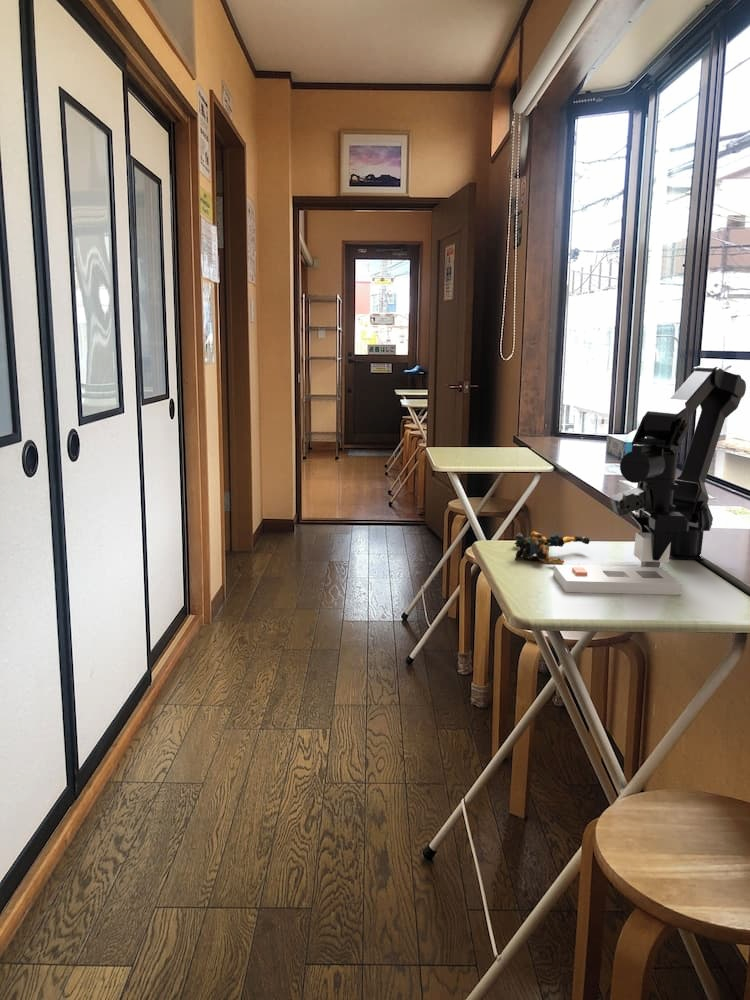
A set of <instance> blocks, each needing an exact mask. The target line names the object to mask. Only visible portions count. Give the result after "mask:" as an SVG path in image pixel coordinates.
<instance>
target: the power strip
mask: <svg viewBox="0 0 750 1000" xmlns="http://www.w3.org/2000/svg"><path fill="white" fill-rule="evenodd" d="M552 572H553V577H554V578H555V579H556V581H557V583H559V585H560V587H562V589H563V590H564V592H565V593H588V594H589V593H591V594H592V593H593V594H595V593H596V594H628V595H630V594H631V595H633V594H635V595H662V596H663V595H664V596H665V595H669V596H674V595H675V596H681V595H682V582H680V581H679V580H678V579H677V578H675V576H673V575H672V574H671V573H669V572H668V571H667V570H666V569H665V568H663V567H661V566H660V567H641V566H624V565H623V566H621V565H619V566H617V565H587V564H586V565H585V564H583V565H579V564H574V565H573V564H554V565H553V571H552Z"/></svg>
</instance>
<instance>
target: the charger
mask: <svg viewBox="0 0 750 1000" xmlns="http://www.w3.org/2000/svg"><path fill="white" fill-rule="evenodd" d="M670 546H671V542H670V544H669V545H668V547H667V548H666V550H665V551H664V553H663V555H662V556H661V558H660V559H659V560H658V561H656V560H653V559H652V543H651V533H641V532H637V531H636V532H635V540H634V549H633V555H634V557H636V558H637V559H638V560H639V561H640V562H641V563H640V567H661V563H669V562H670V556H669V555H670Z"/></svg>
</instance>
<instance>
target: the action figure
mask: <svg viewBox="0 0 750 1000" xmlns="http://www.w3.org/2000/svg"><path fill="white" fill-rule="evenodd" d="M515 539H516V541H515V542H514V545H515V547H517V548H518V550H517V551H516V553H515V557H514V559H515V560H514V561H520V559H521V558H524V559H532V558H533V557H534V555H536V558H537V559H538V560H539V561H540V562H542V563H545V564H554V565H564V563H565V560H564V559H561V558H560V557H558V558H554V557H553V558H552V557H550V552H549V551H550V547H559V548H562V547H563V546H564V545H565V544H567V543H571V542H574V543H576V542H580V543H582V544H584V545H589V544H590V541H591V540H590V537H587V536H581V535H580V536H576V535H575V536H564V537H562V536H559V534H556V533H555V534H554V535H551V536H550V538H546V537H545V535H543V534H542V533H539V532H537V531H534V530H533V531H531V532H530V536H529V537H525V536H523V534H522V533H521V532H518V533H517V534H516V535H515ZM519 558H520V559H519Z"/></svg>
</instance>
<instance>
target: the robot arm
mask: <svg viewBox="0 0 750 1000" xmlns="http://www.w3.org/2000/svg"><path fill="white" fill-rule="evenodd" d="M746 391H747V382H746V381H745V380H744V379H743V378H742V376H741V375H740V374H736V373H731V372H728V371H726V370H723V369H722V368H721V367H720V368H719V367H718V366H707V365H698V366H694V367H693V368H692V370H691V373H690V375H689V376H688V377H687V379H686V380H685V381H684V382H683V383H682V385H681V386H680V387H678V389H677V390H676V391H675V392H674V394H673V395H672V396H671V397H670V398H669V399H668V400H666V401H664V402H661V403H657V404H655V405H654V406H652V407H650V409H648V410H647V411H646V412H645V414H644V415H643V416H642V419H641V421H640V423H639V425H638V427H637V429H636V432H635V435H634V437H633V439H632V441H631V451H628V452H627V453H626V454H625V455H623V457H622V459H621V461H620V462H619V470H620V474H621V475H622V477H623V478H624V479H625V480H626V481H628V482H630V483H633V484H637V487H635V488H631V489H626V490H623V491H621V492H618V493H614V494H611V495H610V496H609V500H610V503H611V506H612V510H613V512H614V513H616V514H617V516H620V517H621V516H626V515H628V513H632V512H634V514H633V513H632V514H630V517H631V518H632V519H633V520H634V521H635V522H636V524H638V526H639V530H640V532H639V533H651V543H652V559H653V560H656V561H658V560H659V559H660V558H661V556H662V555H663V553H664V551H665V550H666V548H667V547H668V545H669V544H670V542H671V546H670V555H669V558H671V559H673V560H674V559H676V560H702V559H701V557H700V556H699V555H700V554H701V555H702V548H703V539H704V532H709V531H711V528H712V526H713V520H714V517H713V514H712V512H711V509H710V508H709V504H708V503H709V500H710V499H709V498H710V497H709V494H708V491H707V487H706V484H705V483H706V481H707V477H708V474H709V471H710V468H711V464H712V460H713V459H714V455H715V451H716V448H717V446H718V442H719V439H720V435H721V433H722V429H723V426H724V423H725V420H726V418H728V417H729V416H730V415H731V414H733V412H734V411H736V410H737V409H738V408H739V405H740V403H741V400H742V398H743V397H745V394H746ZM699 406H700V409H701V411H700V413H699V414H700V415H699V418H698V421H697V423H696V427H695V429H694V432H693V436H692V439H691V442H690V445H689V449H688V451H687V455H686V457H685V460H684V463H683V466H682V468H681V469H682V470H681V473H680V475H679V476H677V478H676V473H677V467H678V466H677V465H678V455H679V454H678V453H681V452H682V447H681V444H682V442H683V440H684V438H685V436H686V435H687V433H688V432H689V429H690V422H689V419H690V417H691V416H692V414H693V413H694V412H695V411H696V410H697V409H698V408H699Z"/></svg>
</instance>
